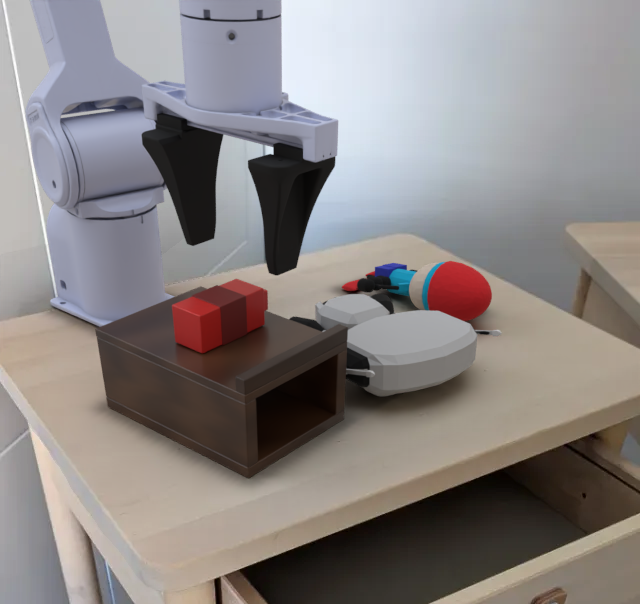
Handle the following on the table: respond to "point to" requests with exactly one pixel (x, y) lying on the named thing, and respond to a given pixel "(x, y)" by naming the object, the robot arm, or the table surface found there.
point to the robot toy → (397, 343)
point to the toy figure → (432, 287)
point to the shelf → (226, 385)
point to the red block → (219, 315)
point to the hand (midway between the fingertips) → (240, 255)
